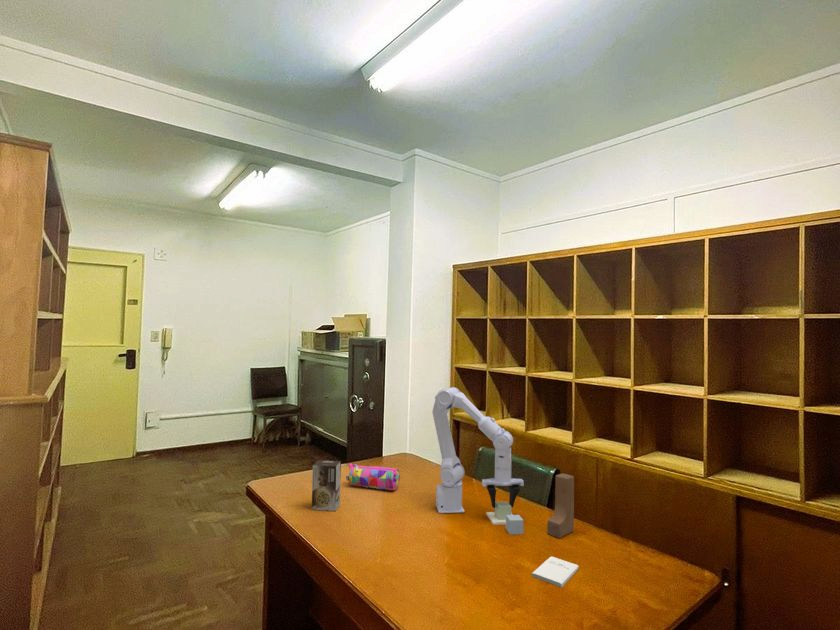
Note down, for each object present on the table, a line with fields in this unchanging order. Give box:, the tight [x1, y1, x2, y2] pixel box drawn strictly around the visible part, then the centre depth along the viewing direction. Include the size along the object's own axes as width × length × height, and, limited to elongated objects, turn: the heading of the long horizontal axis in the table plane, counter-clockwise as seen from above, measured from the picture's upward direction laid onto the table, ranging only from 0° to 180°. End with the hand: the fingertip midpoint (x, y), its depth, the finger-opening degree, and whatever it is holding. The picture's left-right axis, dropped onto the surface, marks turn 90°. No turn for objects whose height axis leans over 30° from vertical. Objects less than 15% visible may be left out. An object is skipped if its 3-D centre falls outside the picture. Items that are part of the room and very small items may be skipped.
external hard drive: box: [531, 556, 579, 588], centre depth 122 cm, size 2×8×12 cm
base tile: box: [485, 511, 514, 526], centre depth 157 cm, size 9×9×2 cm
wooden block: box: [546, 473, 575, 539], centre depth 147 cm, size 9×4×18 cm, turn 131°
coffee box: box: [311, 459, 342, 512], centre depth 164 cm, size 9×6×16 cm
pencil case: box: [345, 462, 401, 491], centre depth 187 cm, size 22×9×9 cm, turn 75°
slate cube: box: [505, 514, 525, 535], centre depth 147 cm, size 4×4×4 cm
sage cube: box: [494, 501, 512, 520], centre depth 157 cm, size 4×4×4 cm
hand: (502, 506), depth 157 cm, fingers open, 6 cm apart
